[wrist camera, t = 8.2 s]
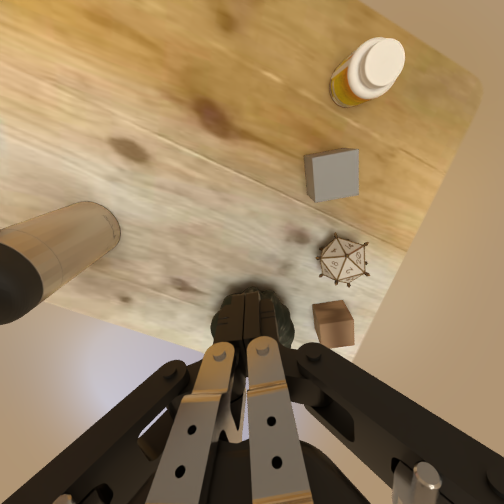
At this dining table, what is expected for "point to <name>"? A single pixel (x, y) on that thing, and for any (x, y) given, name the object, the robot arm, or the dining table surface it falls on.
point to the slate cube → (332, 174)
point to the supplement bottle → (367, 72)
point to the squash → (281, 313)
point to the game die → (343, 260)
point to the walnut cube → (333, 324)
